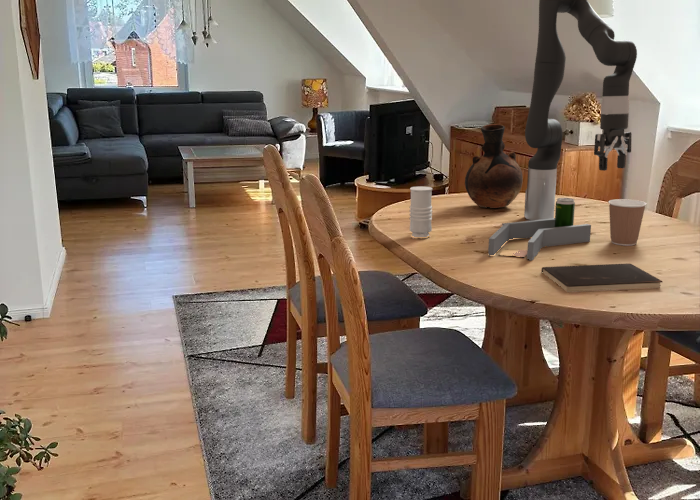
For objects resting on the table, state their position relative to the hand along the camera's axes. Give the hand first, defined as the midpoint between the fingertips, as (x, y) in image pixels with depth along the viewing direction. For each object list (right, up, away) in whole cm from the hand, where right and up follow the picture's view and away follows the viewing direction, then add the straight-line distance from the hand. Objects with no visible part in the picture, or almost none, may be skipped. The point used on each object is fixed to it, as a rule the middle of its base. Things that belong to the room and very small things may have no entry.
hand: (612, 169), depth 206 cm
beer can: (-12, -20, +6) cm, 25 cm away
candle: (-55, -20, +11) cm, 59 cm away
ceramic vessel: (-24, -8, +53) cm, 59 cm away
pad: (-31, -25, -10) cm, 41 cm away
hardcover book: (-16, -32, -34) cm, 49 cm away
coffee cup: (+4, -22, +1) cm, 22 cm away
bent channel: (-23, -23, -3) cm, 32 cm away
